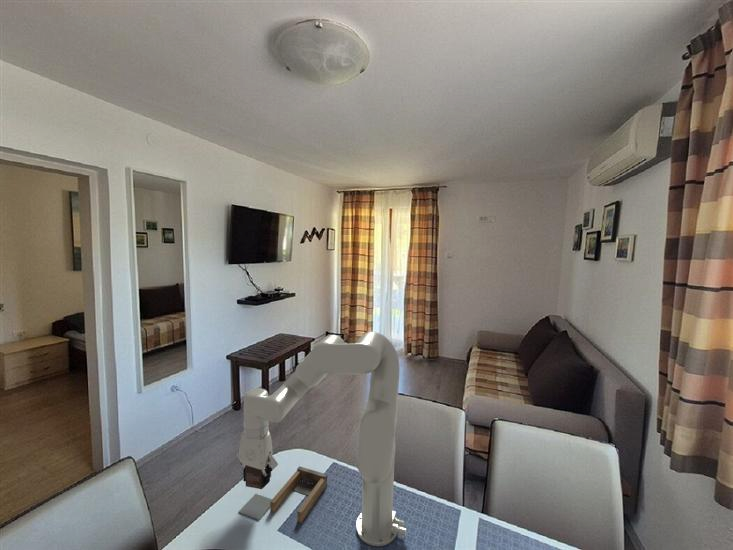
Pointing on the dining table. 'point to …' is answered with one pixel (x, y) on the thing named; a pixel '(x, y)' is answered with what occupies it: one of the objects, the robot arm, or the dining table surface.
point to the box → (254, 477)
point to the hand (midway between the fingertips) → (256, 481)
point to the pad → (256, 507)
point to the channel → (301, 490)
